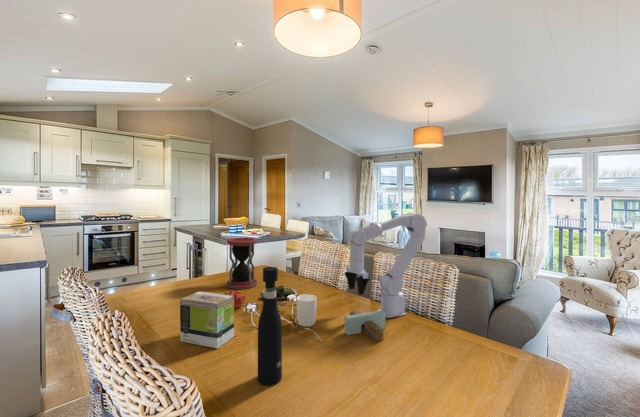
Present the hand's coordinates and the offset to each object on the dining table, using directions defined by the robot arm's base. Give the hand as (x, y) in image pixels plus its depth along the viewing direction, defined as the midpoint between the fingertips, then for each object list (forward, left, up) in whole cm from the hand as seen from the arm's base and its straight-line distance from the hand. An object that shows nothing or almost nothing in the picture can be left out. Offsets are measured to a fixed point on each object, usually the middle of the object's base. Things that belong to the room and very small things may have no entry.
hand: (356, 291), depth 127 cm
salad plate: (+23, -35, -10) cm, 43 cm away
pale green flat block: (+4, +14, -10) cm, 18 cm away
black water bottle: (+44, +30, -10) cm, 54 cm away
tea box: (+58, 0, -10) cm, 59 cm away
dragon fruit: (+46, -26, -10) cm, 54 cm away
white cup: (+22, 0, -10) cm, 24 cm away
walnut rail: (+4, +14, -10) cm, 18 cm away
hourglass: (+37, -59, -10) cm, 70 cm away
